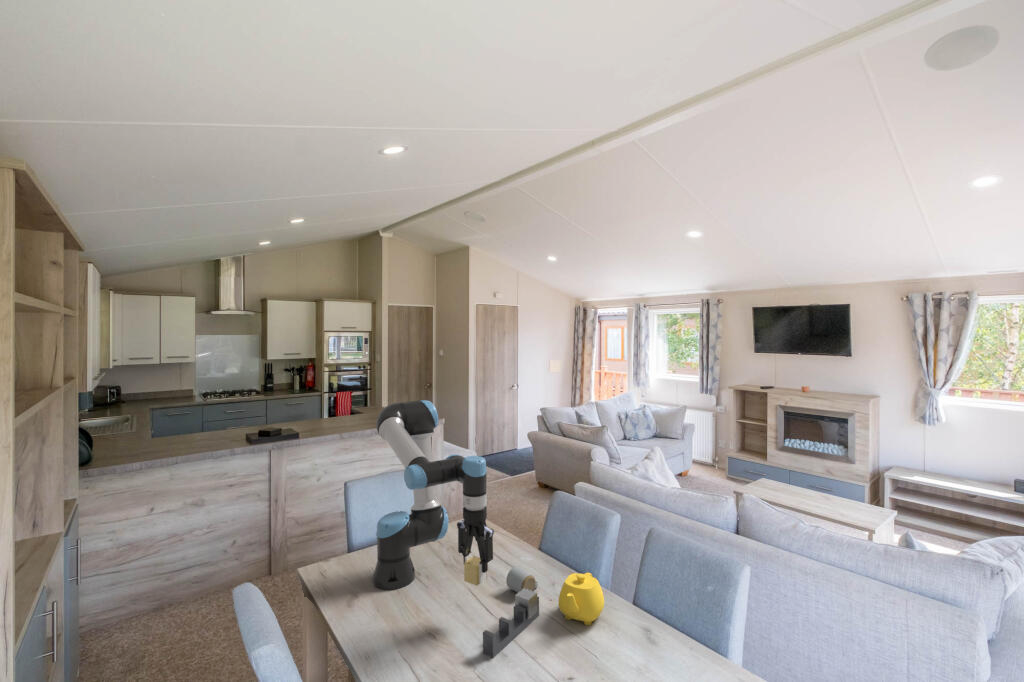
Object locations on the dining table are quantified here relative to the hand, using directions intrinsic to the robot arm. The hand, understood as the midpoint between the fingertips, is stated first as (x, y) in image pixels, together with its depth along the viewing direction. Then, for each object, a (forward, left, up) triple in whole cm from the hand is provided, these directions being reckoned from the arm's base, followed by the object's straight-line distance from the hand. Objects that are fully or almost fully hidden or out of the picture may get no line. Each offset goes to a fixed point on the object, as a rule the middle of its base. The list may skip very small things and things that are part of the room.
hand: (475, 578), depth 151 cm
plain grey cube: (+14, +7, -10) cm, 19 cm away
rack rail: (+14, 0, -12) cm, 19 cm away
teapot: (+27, +18, -13) cm, 35 cm away
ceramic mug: (+4, +22, -13) cm, 25 cm away
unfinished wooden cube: (0, 0, 0) cm, 0 cm away
